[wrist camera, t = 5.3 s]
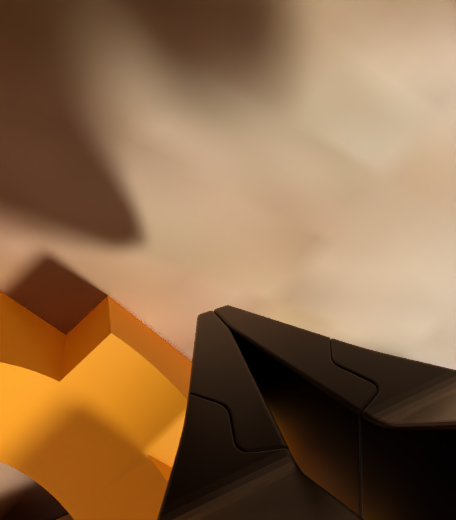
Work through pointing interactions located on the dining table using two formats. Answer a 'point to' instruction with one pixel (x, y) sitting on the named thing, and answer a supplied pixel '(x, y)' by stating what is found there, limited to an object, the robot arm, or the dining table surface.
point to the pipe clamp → (91, 409)
